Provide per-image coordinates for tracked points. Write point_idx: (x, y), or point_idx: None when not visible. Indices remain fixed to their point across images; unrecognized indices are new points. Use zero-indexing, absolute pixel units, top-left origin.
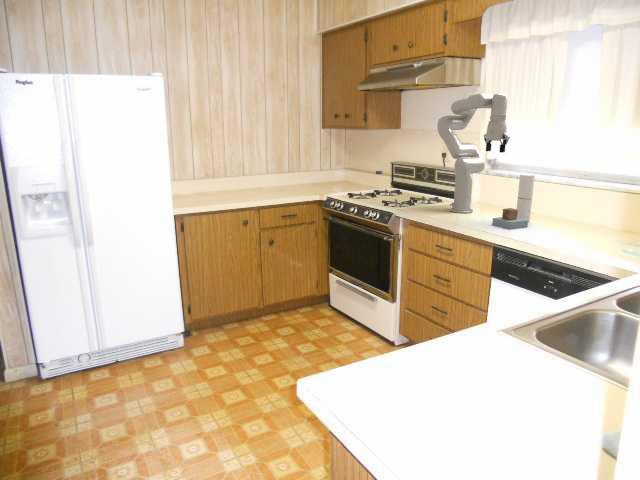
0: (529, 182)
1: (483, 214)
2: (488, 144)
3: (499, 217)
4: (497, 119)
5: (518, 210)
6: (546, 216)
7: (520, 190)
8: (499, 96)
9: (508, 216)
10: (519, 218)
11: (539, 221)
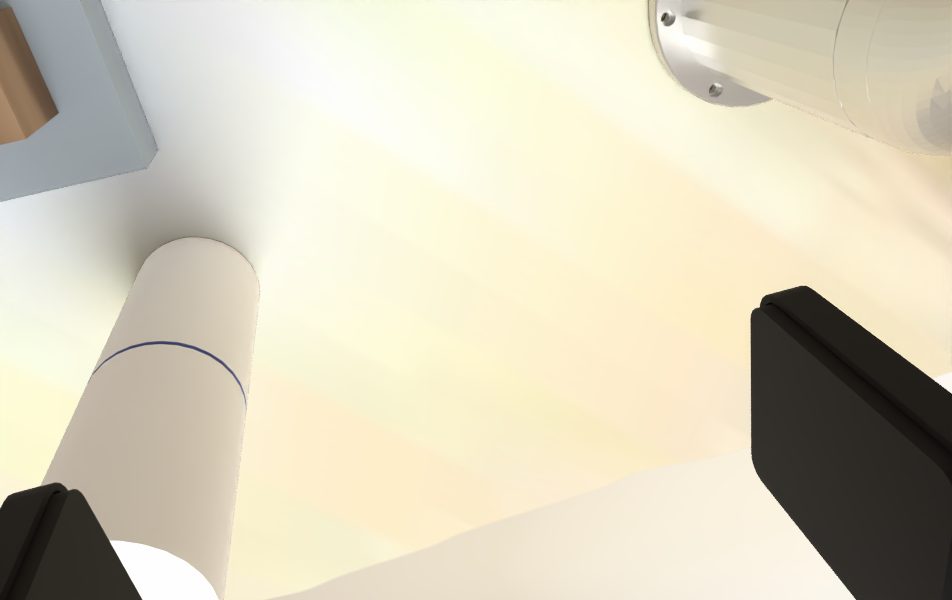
0: None
1: (555, 125)
2: (925, 525)
3: (77, 14)
4: None
5: (165, 282)
6: (353, 541)
7: (125, 395)
8: None
9: None
10: (8, 190)
11: None
